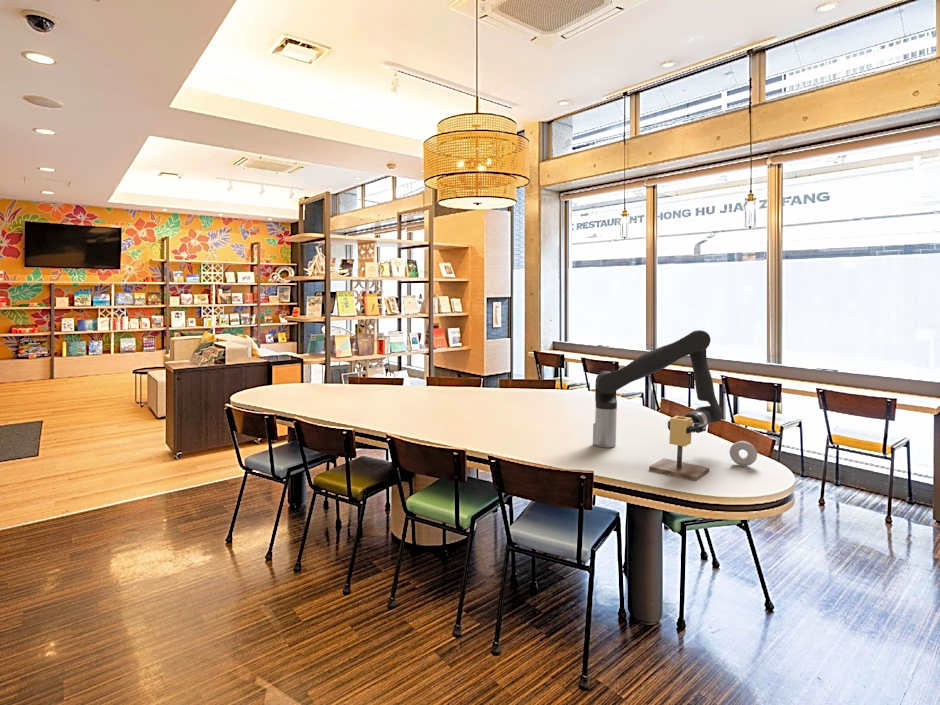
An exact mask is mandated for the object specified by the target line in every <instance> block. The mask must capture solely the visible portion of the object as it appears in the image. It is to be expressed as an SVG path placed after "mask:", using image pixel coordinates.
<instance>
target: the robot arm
mask: <svg viewBox="0 0 940 705" xmlns="http://www.w3.org/2000/svg"><path fill="white" fill-rule="evenodd" d="M710 344H711V336H710V334H709V333H708V332H707V331H705V330H702V329H696V330H693V331H691V332H690V333H687V335H685V336H683V337H681V338H679V339H678V340H676V341H674V342H671V343H668V344H665V345H663V346H660V347H657V348H655V349H652V350H649V351H648V352H645V353H644V354H642V355H640V356H638V357H636V358H634V360H632V361H631V362H630V363H628V364H627V365H625V366H623V367H622V368H619V369H616V370H614V371H609V370H603V371H601V372H599V373H598V374H597V376H596V377H595V378H596V379H595V391H594V392H595V394H594V399H595V410H594V412H595V413H594V414H595V415H594V418H595V419H594V423H593V424H592V425H593V426H592V445H595V446H596V447H600V448H604V449H605V448H614V447H616V445H617V444H616V443H617V439H616V438H617V411H618V400H617V391H619V390H620V389H622V388H623V387H625V386H627V385H629V384H630V383H632V382H635V381H637V380H641V379H642V378H645V377H648V376H650V375H653V374H654V373H657V372H660V371H661V370H664V369H665V368H667V367H669V366H671V365H672V364H674V363H676V362H677V361H678V360H680V359H682V358H685V357H686V356H689V358H690V361H691V365H692V372H693V377H694V384H695V392H696V398H697V399H698V401H701V402H702V401H703V402H707V403H708V404H709V405H707V406H706V405H705V406H704V405H703V406H699V407H696V408H695V411H694V410H693V411H691V412H689V413H686V414H685V415H684V416H683V417H689V418H692V425H691V426H689V427H687V428H686V433H687V434H689V433H691V434H692V433H696V434H700V433H703V432H706V430H707V429H706V428H707V426H708V425H709V424H710V423H718V422H721V421H722V419H723V417H724V416H723V411H722V408H721V407H720V404H719V403H718V400H717V397H716V395H715V389H714V388H715V387H714V383H713V378H712V375H711V371H710V368H709V365H708V358H707V349H708V348H709V346H710ZM667 429H668V430H669V431H670V419H669V420H668V421H667Z"/></svg>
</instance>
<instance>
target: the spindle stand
mask: <svg viewBox="0 0 940 705" xmlns="http://www.w3.org/2000/svg"><path fill="white" fill-rule="evenodd" d="M683 447H684V446H679V445H677V452H676V455H677V456H676V460H674V459H668V458H665V457H663V458H661V459H659V460H658V461H656V462H655V463H653V464H651V465H649V466H648V471H651V470H653V471H652V472H655V471H657V472H656V473H659V472H662V473H661V474H664V473H666V474H665V475H668V474H670V475H669V476H673V475H674V476H673V477H677V476H679V477H678V478H681V477H683V478H682V479H686V478H688V479H687V480H690V479H691V481H695V480H696V481H698V480H699V479H701V478H702V477H703V476H705V475H706V474H707V472H708V473H710V467H707V466H703V465H698V464H695V463H694V464H693V463H689V462H683ZM704 474H705V475H704ZM701 476H702V477H701ZM700 477H701V478H700ZM697 479H698V480H697Z"/></svg>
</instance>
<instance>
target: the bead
mask: <svg viewBox="0 0 940 705" xmlns="http://www.w3.org/2000/svg"><path fill="white" fill-rule="evenodd" d="M669 420H670V430H669V444H670V445H674V446H678V445H679V446H683V447H687V446H688V445H690V444H692V433H689V434H687V433H686V428H687V427H689V426H691V425H692V418H689V417H684V416H681V415H675V416H673V417H670V419H669Z"/></svg>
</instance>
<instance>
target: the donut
mask: <svg viewBox="0 0 940 705" xmlns="http://www.w3.org/2000/svg"><path fill="white" fill-rule="evenodd" d="M741 450H744V451H746V453H747V456H744V457H743V456H741V455H740V454H739V453H740V451H741ZM729 457H730V458H731V460H732V462H734V463H735V464H737V465H739V466H742V467H748V466H751V465H753V464H754V463H755V462H756V460H757V458H758V452H757V448H756V447H755V446H754V445H753V444H752V443H750V442H748V441H745V440H739V441H736V442H734V443H732V444H731V446H730V448H729Z"/></svg>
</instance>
